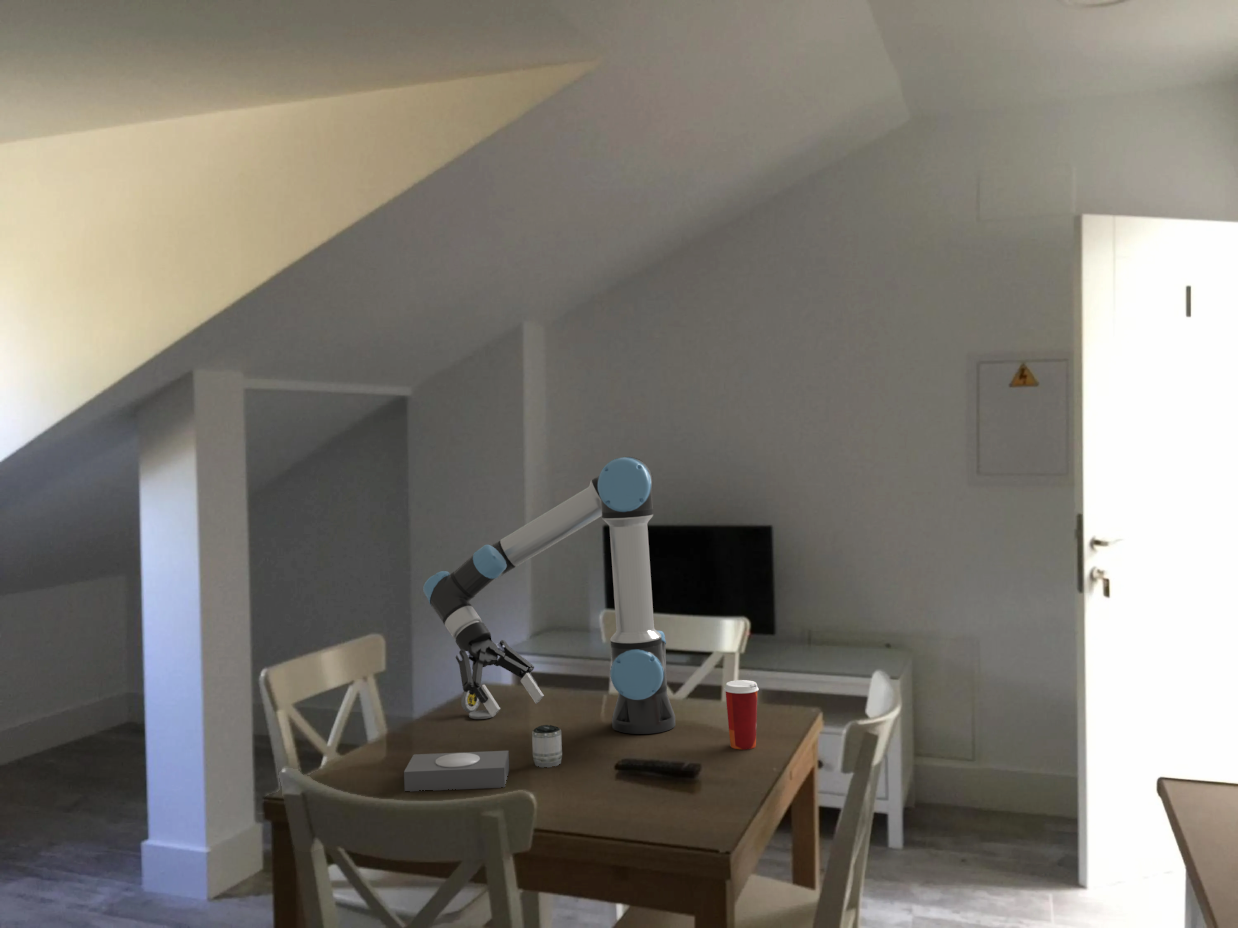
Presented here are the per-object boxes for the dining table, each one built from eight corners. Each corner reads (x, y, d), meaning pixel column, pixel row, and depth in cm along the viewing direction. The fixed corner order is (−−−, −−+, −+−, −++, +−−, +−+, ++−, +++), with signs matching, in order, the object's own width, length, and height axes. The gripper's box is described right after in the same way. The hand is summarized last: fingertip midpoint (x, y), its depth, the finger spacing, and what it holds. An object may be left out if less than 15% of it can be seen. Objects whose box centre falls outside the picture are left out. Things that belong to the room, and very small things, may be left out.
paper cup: (767, 744, 242) (765, 682, 242) (746, 752, 237) (744, 688, 236) (739, 739, 248) (737, 677, 247) (718, 746, 242) (716, 684, 242)
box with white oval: (509, 769, 231) (508, 748, 231) (504, 787, 219) (504, 765, 219) (414, 773, 230) (413, 752, 230) (404, 791, 218) (403, 770, 218)
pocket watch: (493, 719, 272) (492, 680, 272) (460, 721, 272) (458, 681, 272) (497, 711, 280) (496, 673, 280) (465, 712, 280) (463, 674, 280)
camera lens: (549, 757, 238) (547, 721, 238) (568, 762, 234) (567, 726, 234) (527, 764, 234) (525, 727, 234) (546, 769, 229) (544, 732, 229)
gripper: (500, 633, 258) (548, 704, 249) (418, 651, 239) (468, 729, 230) (515, 612, 255) (565, 684, 246) (434, 629, 235) (485, 707, 226)
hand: (518, 706), depth 238 cm, fingers open, 13 cm apart
